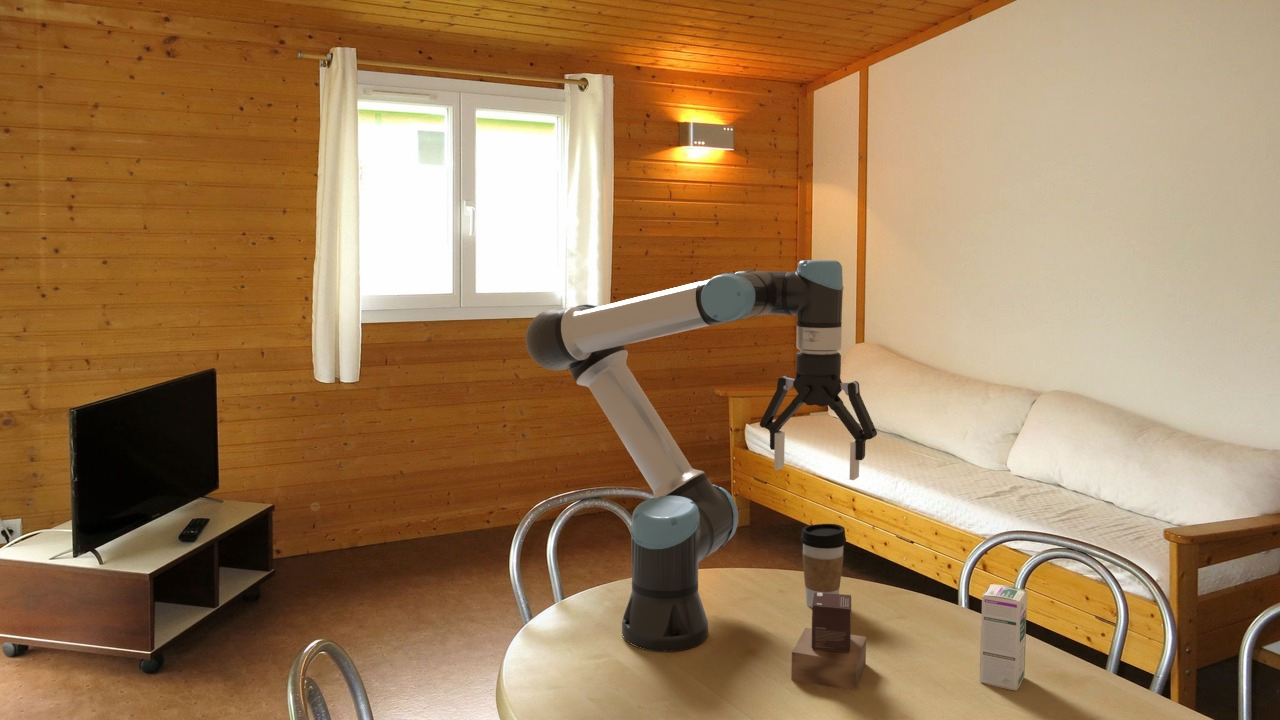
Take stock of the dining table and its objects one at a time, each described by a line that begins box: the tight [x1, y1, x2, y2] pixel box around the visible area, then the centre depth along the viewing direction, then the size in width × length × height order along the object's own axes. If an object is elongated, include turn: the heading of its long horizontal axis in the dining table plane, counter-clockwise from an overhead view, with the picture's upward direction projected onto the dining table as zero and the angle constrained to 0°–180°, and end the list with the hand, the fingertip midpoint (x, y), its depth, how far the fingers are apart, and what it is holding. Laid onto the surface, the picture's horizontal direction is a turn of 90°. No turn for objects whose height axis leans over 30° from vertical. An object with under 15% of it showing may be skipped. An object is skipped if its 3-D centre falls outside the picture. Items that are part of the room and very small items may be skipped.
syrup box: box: [979, 583, 1028, 692], centre depth 145 cm, size 6×6×14 cm
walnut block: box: [790, 627, 867, 692], centre depth 149 cm, size 10×10×5 cm
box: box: [811, 593, 852, 652], centre depth 148 cm, size 6×6×7 cm
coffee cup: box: [800, 523, 847, 609], centre depth 176 cm, size 8×8×15 cm
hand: (815, 473), depth 160 cm, fingers open, 13 cm apart
